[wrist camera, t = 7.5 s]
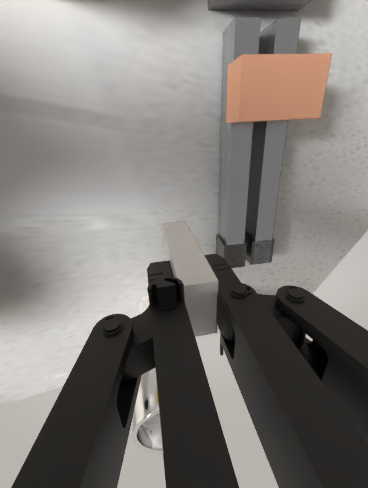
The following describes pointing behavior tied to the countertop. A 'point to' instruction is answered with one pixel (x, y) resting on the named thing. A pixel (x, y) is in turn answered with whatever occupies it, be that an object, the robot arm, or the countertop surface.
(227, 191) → the tong arm
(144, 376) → the beer glass
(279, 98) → the peach rectangular block
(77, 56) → the countertop surface
